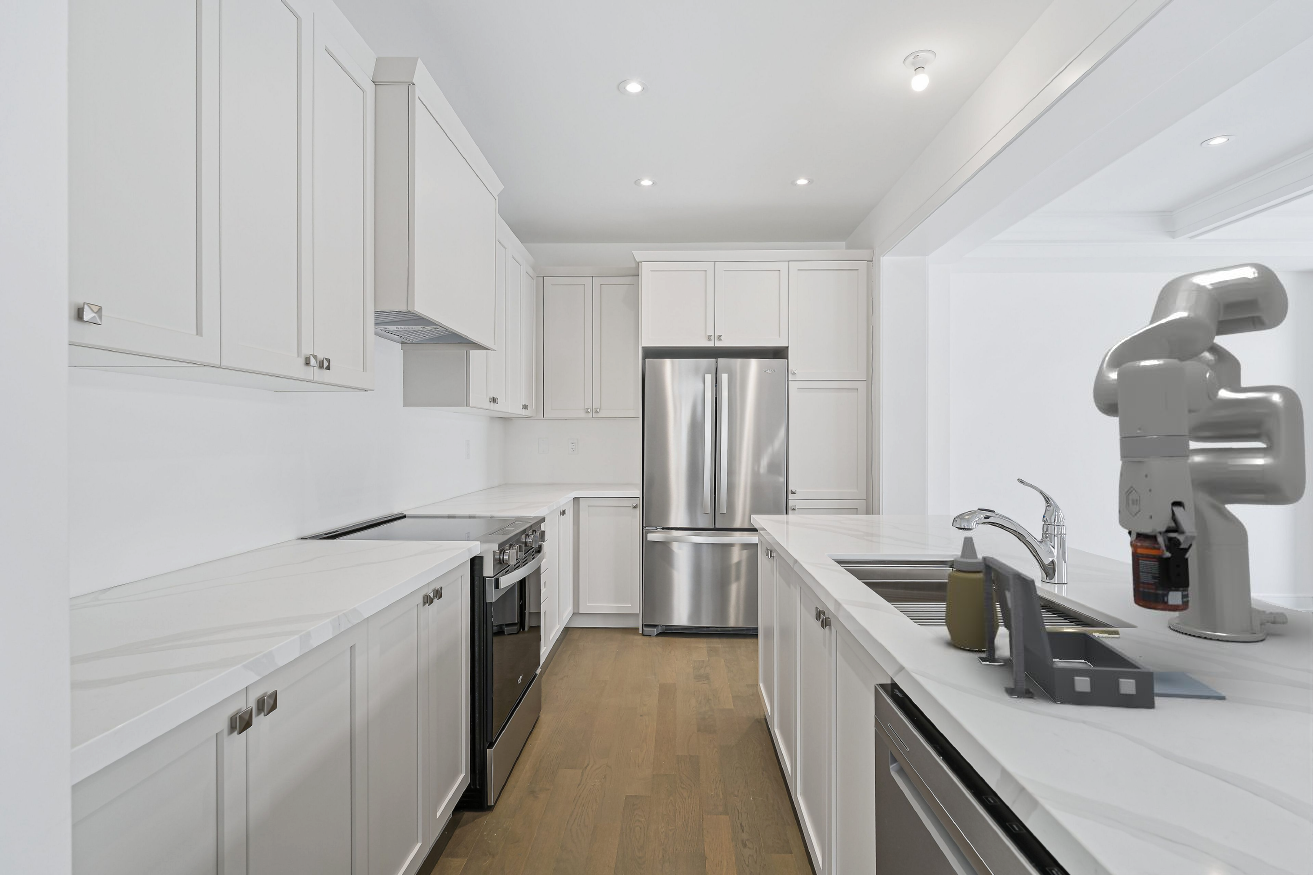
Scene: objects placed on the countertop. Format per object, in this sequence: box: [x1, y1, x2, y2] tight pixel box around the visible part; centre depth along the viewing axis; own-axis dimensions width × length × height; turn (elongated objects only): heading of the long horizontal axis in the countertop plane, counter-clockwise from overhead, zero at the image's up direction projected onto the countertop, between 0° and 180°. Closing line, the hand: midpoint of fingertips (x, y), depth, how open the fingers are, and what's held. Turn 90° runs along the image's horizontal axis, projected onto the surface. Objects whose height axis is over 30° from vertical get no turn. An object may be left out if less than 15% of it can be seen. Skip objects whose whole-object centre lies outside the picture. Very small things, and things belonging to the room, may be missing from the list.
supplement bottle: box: [1130, 530, 1189, 613], centre depth 86 cm, size 6×6×11 cm
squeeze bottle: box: [944, 536, 1000, 651], centre depth 104 cm, size 8×8×18 cm
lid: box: [990, 556, 1055, 666], centre depth 90 cm, size 11×18×1 cm
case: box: [1008, 630, 1156, 709], centre depth 88 cm, size 11×18×4 cm, turn 167°
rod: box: [1045, 627, 1120, 635], centre depth 109 cm, size 12×1×1 cm
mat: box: [1152, 670, 1227, 700], centre depth 86 cm, size 9×9×1 cm
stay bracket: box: [977, 555, 1036, 698], centre depth 90 cm, size 3×15×16 cm, turn 167°
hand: (1159, 581), depth 86 cm, fingers closed on supplement bottle, 6 cm apart
